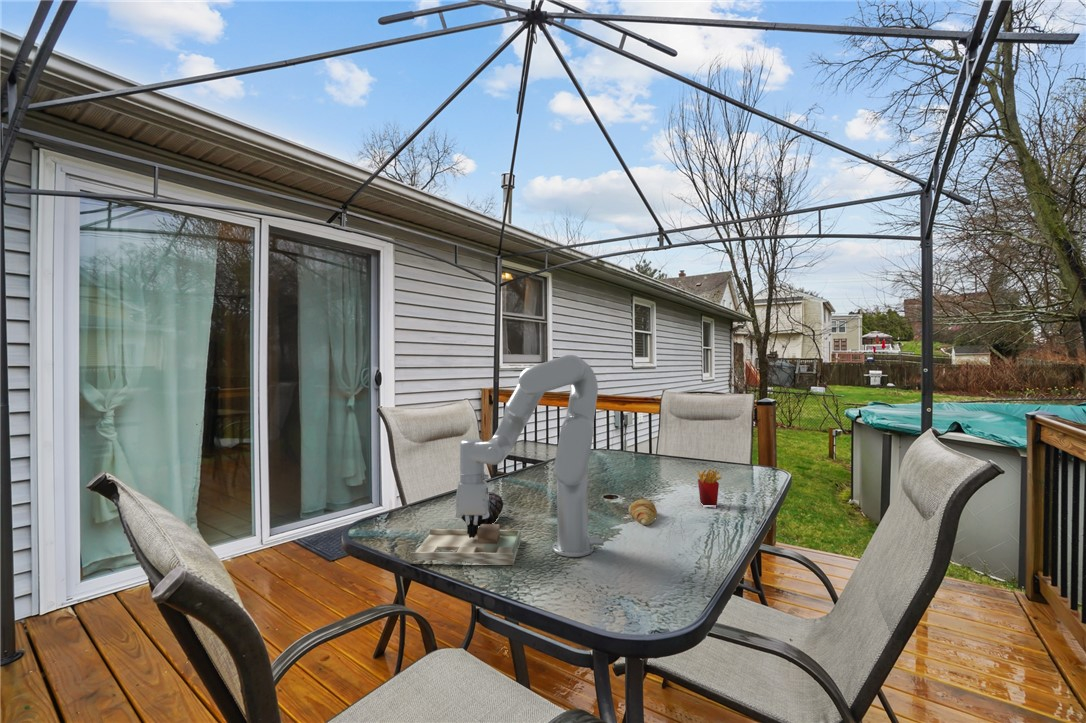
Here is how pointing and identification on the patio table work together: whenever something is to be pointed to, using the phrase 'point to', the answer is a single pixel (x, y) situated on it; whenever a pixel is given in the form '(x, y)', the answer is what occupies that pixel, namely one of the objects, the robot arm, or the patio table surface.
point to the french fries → (708, 487)
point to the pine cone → (492, 509)
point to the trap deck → (468, 547)
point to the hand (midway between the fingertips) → (472, 536)
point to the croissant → (643, 511)
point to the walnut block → (488, 533)
